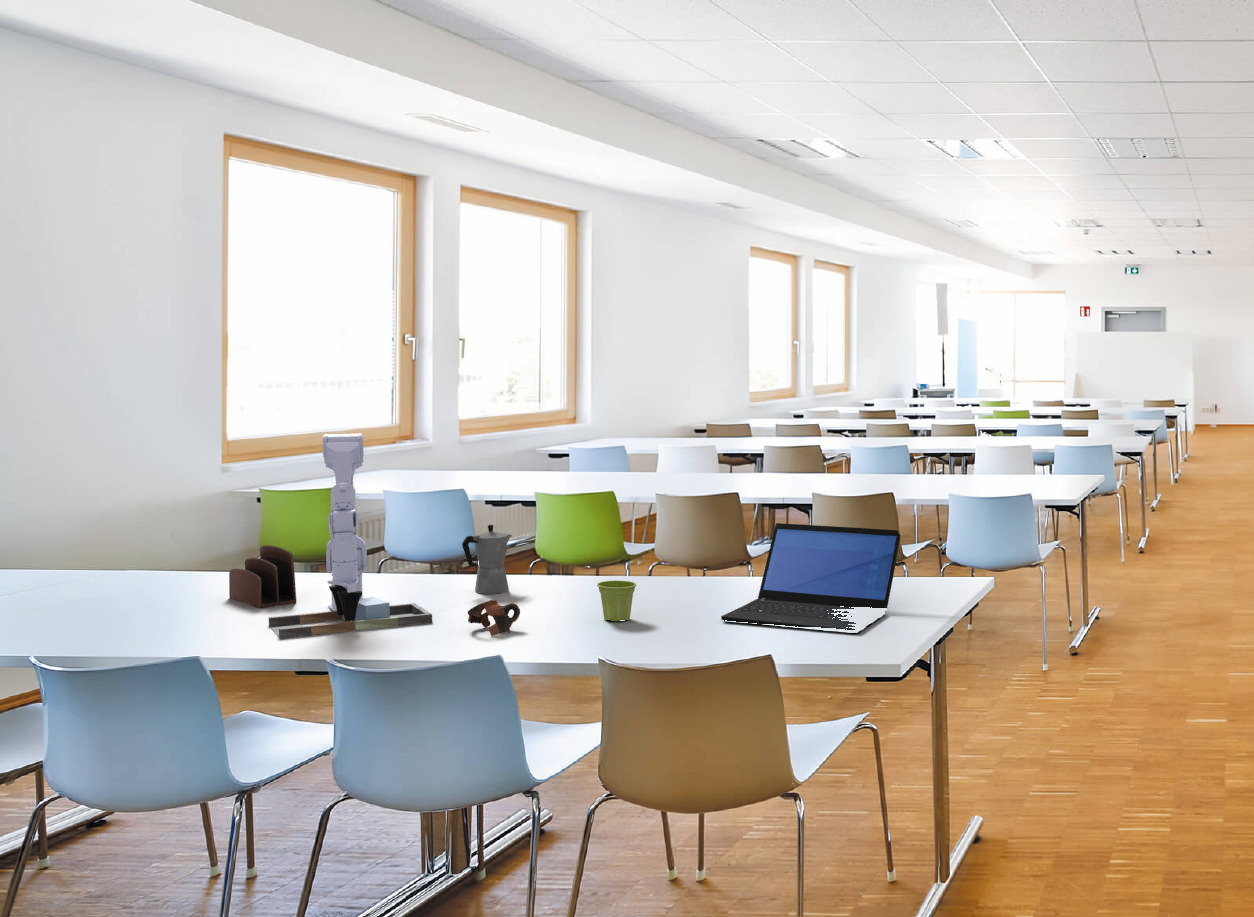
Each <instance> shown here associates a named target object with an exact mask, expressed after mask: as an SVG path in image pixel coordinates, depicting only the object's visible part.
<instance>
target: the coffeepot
mask: <svg viewBox="0 0 1254 917" xmlns="http://www.w3.org/2000/svg"><path fill="white" fill-rule="evenodd" d="M487 530H488V531H485V532H482V533H478V534H476V535H466V537H465V538H464V540H463V541H462V548H463V552H464V555H465V557H466V560H467V564H468V566H469V567H476V566H477V562H473V557H472V554H471V549H470V546H469V544H470V543H472V544H474V546H475V547H474V548H475V552H476V557H477V561H478V568H477V573H476V580H475V587H474V588H475V589H474V590H475V592H476V593H477V594H482V595H496V594H503V593H507V592H508V591H510V588H509V584H508V578H507V572H506V568H505V560H506V556H507V548H508V542H509V541H510V538H512V537H513V535H512V534H509V533H503V532H497V531H494V525H493V524H489V525H487Z"/></svg>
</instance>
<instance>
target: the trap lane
mask: <svg viewBox="0 0 1254 917" xmlns="http://www.w3.org/2000/svg"><path fill="white" fill-rule="evenodd" d="M389 605H390V604H389ZM339 620H345V619H344V615H338V613H337V611H333V610H330V611H329V610H328V611H322V612H321V611H320V612H310V613H299V614H290V615H280V616H269V617H268V627H269V628H270V629H271V630H272V631H273V632H274V633H275V634H276V636H277V637H278V638H279V639H287V638H289V639H290V638H297V637H307V636H317V635H325V634H334V633H335V634H336V633H346V632H355V631H363V630H365V631H366V630H373V629H384V628H385V629H386V628H393V627H402V626H411V625H421V624H430V623H433V613H431V612H429V611H428V610H426V609H425V608H423V607H421V606H420V605H419V604H416V603H415V602H413V603H412V602H411V603H403V604H402V603H401V604H392V605H390V617H389V618H379V619H369V620H360V621H343V622H331V621H339ZM327 621H328V622H329V621H330V622H331V623H322V624H312V625H311V624H310V625H302V624H308V623H319V622H327Z"/></svg>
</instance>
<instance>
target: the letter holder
mask: <svg viewBox="0 0 1254 917" xmlns="http://www.w3.org/2000/svg"><path fill="white" fill-rule="evenodd" d="M259 552H260V553H259V557H260V558H259V557H247V558H245V560H244V568H230V570H229V574H228V575H229V577H228V578H229V580H228V585H229V586H228V588H229V590H228V591H229V592H228V593H229V594H228V595H229V596H228V597H229V598H230V599H231V600H234V601H237V602H240V603H243V604H246V605H250V606H252V607H254V608H259V609H266V608H271V607H272V608H274V607H281V606H287V605H288V606H289V605H293V604H297V591H296V575H295V566H294V555H293V553H292V552H291V551H289V550H287V549H285V548H282V547H279V546H276V545H269V544H268V545H261V546H260V548H259Z"/></svg>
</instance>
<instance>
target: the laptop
mask: <svg viewBox="0 0 1254 917" xmlns="http://www.w3.org/2000/svg"><path fill="white" fill-rule="evenodd" d="M900 541H901V534H900V532H899V530H895V529H882V528H881V529H880V528H869V527H853V526H852V527H850V526H849V527H848V526H833V525H832V526H831V525H818V524H817V525H816V524H801V523H800V524H799V523H798V524H797V523H780V522H776V523H775V526H774V530H773V534H772V539H771V541H770V546H769V550H768V554H767V558H766V562H765V566H764V572H763V575H762V580H761V582H760V587H759V592H758V595H757V596H758V597H757V598H756V599H754V600H753V601H750V602H748V603H746V604H744V605H743V606H740V607H738V608H735V609H733V610H731V611H730V612H727V613H725V614H723V615H722V616H720V618H721V621H723V620H724V621H723V622H725V620H727V621H736V622H748V623H757V624H774V625H785V626H795V627H797V626H798V627H821V628H836V629H845V630H846V629H847V630H855V629H852V628H849V627H855V626H852V625H848V624H856V623H854V622H849V621H841V620H848V619H841V618H838V617H846V616H847V615H844V616H842V615H841V614H838V615H836V616H834V614H831V613H837V612H839V613H840V612H841V611H835V612H834V610H832V609H836V610H837V609H854V608H851V607H870V608H871V607H872V608H887V609H888V605H889V600H890V595H891V591H892V585H893V581H894V580H893V579H894V574H895V570H896V564H897V558H898V552H899V548H900V547H899V546H900V543H901V542H900ZM840 606H844V607H840ZM849 607H850V608H849ZM827 610H828V611H827ZM828 613H829V614H828ZM842 613H849V612H847V611H844V612H842ZM837 616H838V617H837ZM833 617H835V618H833ZM851 617H852V616H851ZM832 618H833V619H832ZM839 619H841V620H839ZM846 627H848V628H846Z"/></svg>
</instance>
